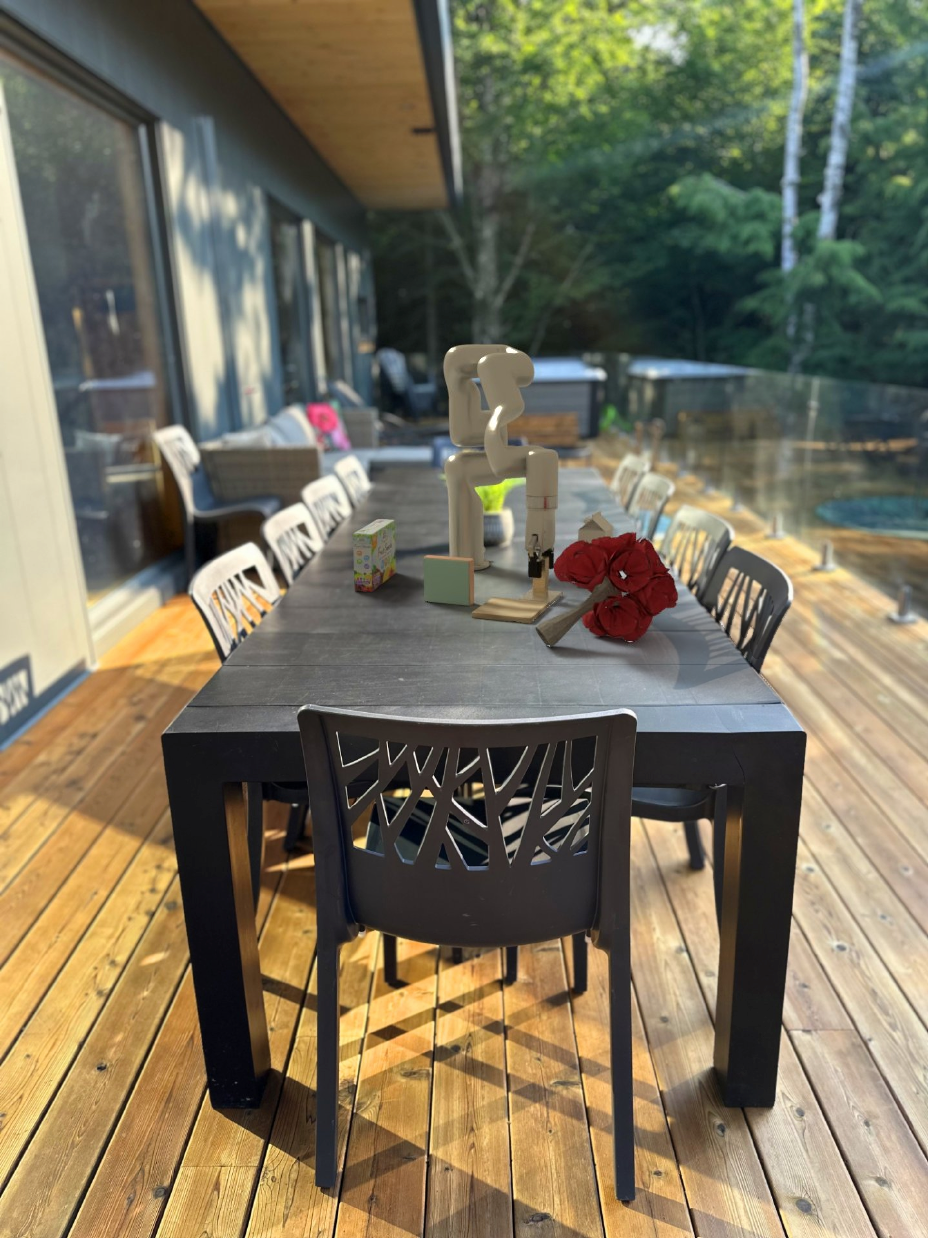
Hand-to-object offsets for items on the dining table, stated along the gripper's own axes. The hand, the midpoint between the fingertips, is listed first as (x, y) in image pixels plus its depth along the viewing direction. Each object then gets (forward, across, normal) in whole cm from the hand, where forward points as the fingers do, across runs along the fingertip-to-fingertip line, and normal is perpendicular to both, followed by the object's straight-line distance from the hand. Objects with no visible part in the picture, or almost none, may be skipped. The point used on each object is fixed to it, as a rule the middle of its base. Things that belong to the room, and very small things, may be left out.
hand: (541, 572), depth 218 cm
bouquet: (+7, +26, +22) cm, 35 cm away
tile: (+7, +10, -20) cm, 23 cm away
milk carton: (+7, -17, +9) cm, 20 cm away
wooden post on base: (+7, 0, 0) cm, 7 cm away
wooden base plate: (+7, +13, -3) cm, 15 cm away
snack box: (+7, -2, -46) cm, 47 cm away
